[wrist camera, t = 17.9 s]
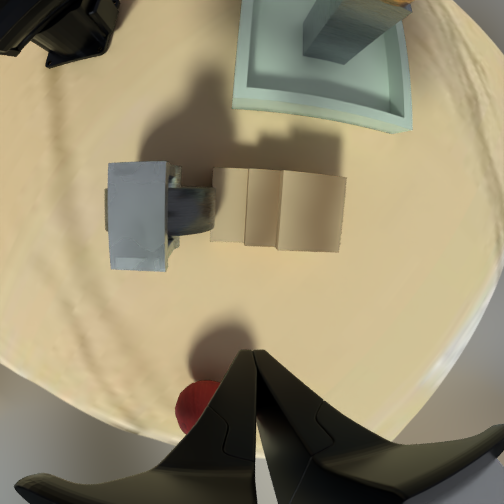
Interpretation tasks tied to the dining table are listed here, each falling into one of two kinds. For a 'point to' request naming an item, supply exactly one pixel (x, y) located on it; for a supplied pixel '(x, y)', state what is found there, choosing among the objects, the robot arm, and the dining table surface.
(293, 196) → the block
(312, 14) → the pin
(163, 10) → the dining table surface
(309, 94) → the tray
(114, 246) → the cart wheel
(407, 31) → the dining table surface
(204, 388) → the onion
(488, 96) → the dining table surface
